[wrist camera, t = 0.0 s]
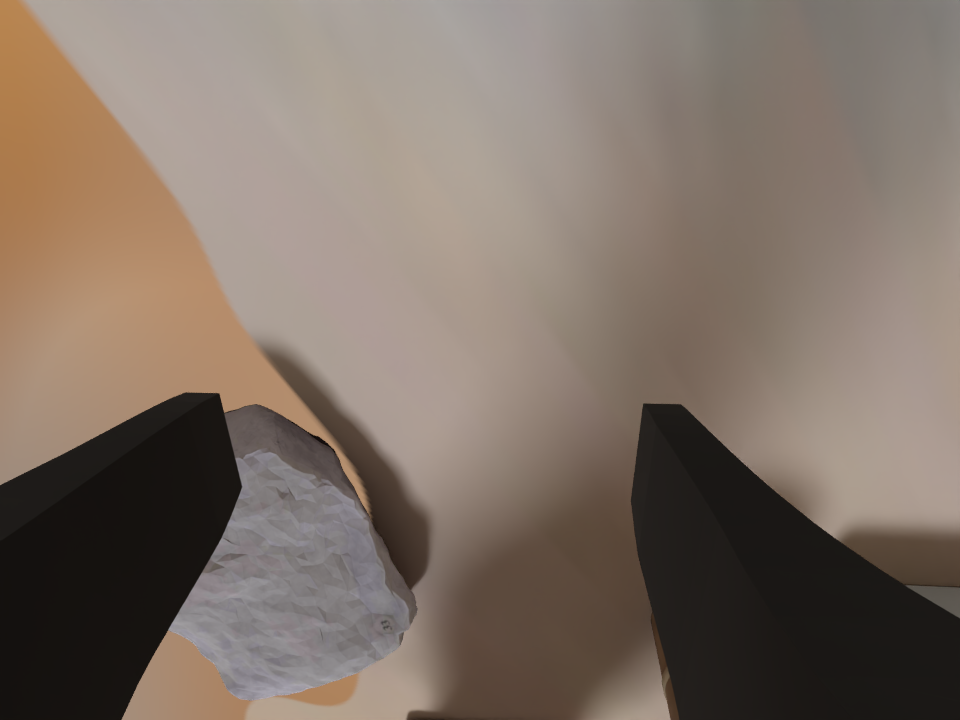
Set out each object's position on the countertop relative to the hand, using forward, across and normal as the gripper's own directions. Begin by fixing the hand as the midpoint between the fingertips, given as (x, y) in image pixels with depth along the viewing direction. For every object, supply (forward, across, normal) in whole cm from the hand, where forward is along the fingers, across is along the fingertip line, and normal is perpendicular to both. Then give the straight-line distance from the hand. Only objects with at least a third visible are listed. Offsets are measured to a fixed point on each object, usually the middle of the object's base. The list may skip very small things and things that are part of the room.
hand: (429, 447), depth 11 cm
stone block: (+11, +8, +12) cm, 18 cm away
